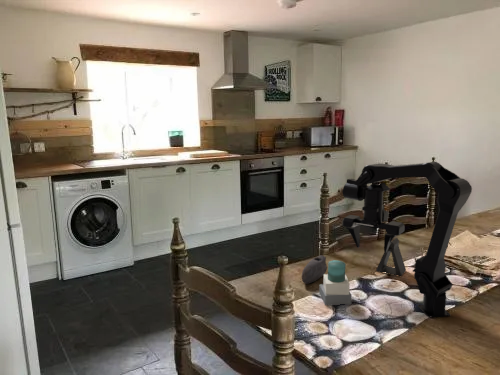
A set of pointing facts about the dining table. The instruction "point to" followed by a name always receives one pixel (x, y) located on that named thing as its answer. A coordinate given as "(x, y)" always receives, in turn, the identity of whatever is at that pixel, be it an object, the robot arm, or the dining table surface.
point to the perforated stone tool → (314, 269)
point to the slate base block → (334, 297)
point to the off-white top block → (336, 286)
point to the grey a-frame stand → (397, 260)
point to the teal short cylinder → (336, 271)
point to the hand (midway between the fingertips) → (371, 249)
